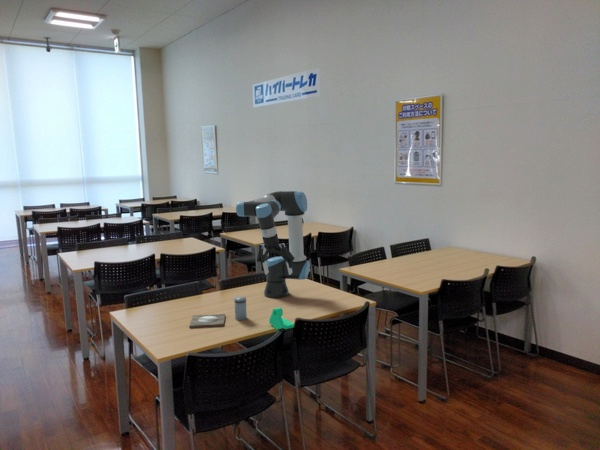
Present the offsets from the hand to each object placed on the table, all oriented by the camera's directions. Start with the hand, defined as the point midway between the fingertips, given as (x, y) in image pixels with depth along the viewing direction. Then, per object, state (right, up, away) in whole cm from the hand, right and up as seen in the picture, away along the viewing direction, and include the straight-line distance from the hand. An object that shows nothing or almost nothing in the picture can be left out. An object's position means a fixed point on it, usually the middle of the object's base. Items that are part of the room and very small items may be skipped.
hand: (278, 273), depth 232 cm
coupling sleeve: (-21, -25, +11) cm, 34 cm away
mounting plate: (-37, -26, +7) cm, 46 cm away
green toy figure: (+2, -27, -1) cm, 27 cm away
